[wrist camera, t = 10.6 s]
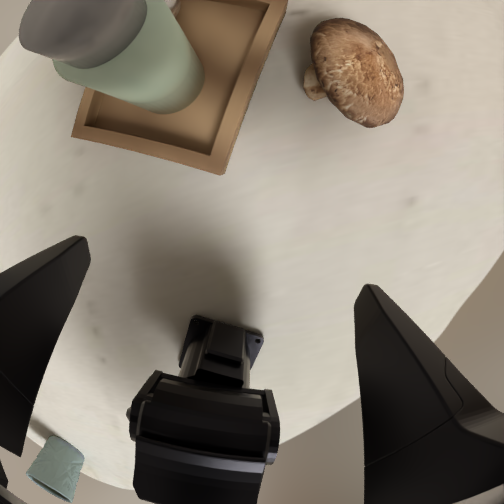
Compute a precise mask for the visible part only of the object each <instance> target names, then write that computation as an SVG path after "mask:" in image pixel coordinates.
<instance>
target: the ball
mask: <svg viewBox="0 0 504 504" xmlns="http://www.w3.org/2000/svg"><path fill="white" fill-rule="evenodd" d="M164 1H165V3H166V4H167V6H168V7H169V9H170V11H171V12H172V14H173V16H174V17H176V16H177V15H178V13H179V11H180V7H181V4H180V0H164Z"/></svg>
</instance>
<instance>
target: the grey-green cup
mask: <svg viewBox="0 0 504 504" xmlns="http://www.w3.org/2000/svg"><path fill="white" fill-rule="evenodd" d="M83 462H84V456H83V454H82V453H81V452H80V451H79V450H78V449H76V448H75V447H74V446H72V445H71V444H69V443H68V442H66V441H65V440H63V439H61V438H59V437H56V436H50V437H49V439H48V440H47V442H46V443H45V445H44V448H43V449H42V450H41V451H40V453H39V454H38V456H37V459H36V460H35V461H34V462H33V463H32V465H31V467H30V468H29V469H28V471H27V472H26V475H27V476H28V477H29V478H30V479H31V480H32V481H33V482H34V483H36V484H37V485H39V486H40V487H41V488H43V489H44V490H46V491H47V492H49V493H51V494H52V495H54V496H56V497H58V498H60V499H62V500H64V501H67V502H70V503H72V502H73V498H74V493H75V489H76V483H77V482H78V479H79V475H80V470H81V468H82V465H83Z"/></svg>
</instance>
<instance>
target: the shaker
mask: <svg viewBox="0 0 504 504" xmlns="http://www.w3.org/2000/svg"><path fill="white" fill-rule="evenodd" d="M19 40H20V43H21V45H22V46H23V47H24V48H25V49H27V50H29V51H32V52H35V53H38V54H40V55H43V56H46V57H49V58H51V59H53V64H54V67H55V69H56V71H57V72H58V74H59V75H60V76H61V77H62V78H64V79H65V80H67V81H70V82H73V83H76V84H79V85H82V86H85V87H88V88H91V89H94V90H96V91H99V92H102V93H105V94H107V95H110V96H113V97H115V98H118V99H121V100H123V101H126V102H128V103H131V104H133V105H136V106H138V107H141V108H143V109H145V110H148V111H150V112H152V113H156V114H172V113H176V112H178V111H181V110H183V109H185V108H186V107H188V106H189V105H190V104H191V103H192V102H193V101H194V100H195V99H196V98H197V97H198V95H199V94H200V92H201V90H202V88H203V85H204V80H205V73H204V68H203V65H202V63H201V62H200V60H199V58H198V56H197V55H196V53H195V51H194V49H193V48H192V46H191V44H190V42H189V41H188V39H187V37H186V36H185V34H184V32H183V31H182V29H181V27H180V25H179V24H178V22H177V21H176V19H175V17H174V16H173V14H172V12H171V11H170V9H169V7H168V6H167V4H166V3H165V1H164V0H32V1H31V2H30V4H29V5H28V7H27V9H26V11H25V13H24V15H23V18H22V21H21V24H20V29H19Z"/></svg>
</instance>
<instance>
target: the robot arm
mask: <svg viewBox="0 0 504 504" xmlns="http://www.w3.org/2000/svg"><path fill="white" fill-rule="evenodd" d="M90 261H91V257H90V252H89V247H88V242H87V239H86V238H85V237H83V236H77V235H75V236H72V237H70V238H68V239H66V240H64V241H62V242H60V243H57V244H55V245H53V246H51V247H49V248H47V249H45V250H43V251H41V252H39V253H37V254H35V255H33V256H31V257H29V258H27V259H26V260H24V261H22V262H20V263H18V264H16V265H14V266H12V267H11V268H9V269H7V270H5V271H3V272H2V273H0V446H1V447H3V448H5V449H6V450H8V451H10V452H12V453H13V454H15V455H17V456H19V457H21V455H22V451H23V446H24V441H25V437H26V433H27V429H28V425H29V421H30V418H31V414H32V411H33V407H34V406H33V405H34V404H35V400H36V397H37V394H38V391H39V388H40V385H41V382H42V379H43V376H44V373H45V371H46V368H47V365H48V363H49V360H50V357H51V355H52V352H53V350H54V347H55V345H56V343H57V340H58V338H59V335H60V333H61V331H62V329H63V326H64V324H65V322H66V320H67V318H68V315H69V313H70V311H71V309H72V307H73V305H74V302H75V300H76V298H77V295H78V293H79V290H80V287H81V285H82V282H83V280H84V277H85V275H86V272H87V270H88V268H89V265H90ZM194 320H197V321H198V323H196V322H195V321H194ZM354 323H355V350H356V359H357V367H358V376H359V386H360V396H361V408H362V421H363V439H364V465H365V467H364V504H504V413H502V412H500V411H498V410H497V409H495V408H494V407H493V406H492V405H491V404H490V403H489V402H488V401H487V400H486V399H485V397H484V396H483V395H482V394H481V393H480V392H479V391H478V390H477V389H475V387H474V386H473V385H472V384H471V383H470V382H469V381H468V380H467V379H466V378H465V377H464V376H463V375H462V374H461V373H460V371H458V369H457V368H456V367H455V366H454V365H453V364H452V363H451V362H450V360H449V359H448V358H447V357H445V355H444V354H443V353H442V352H441V350H440V349H439V348H438V347H437V346H436V345H435V344H434V343H433V342H432V341H431V339H430V338H429V337H428V336H427V335H426V334H425V333H424V332H423V331H422V330H421V329H420V328H419V327H418V326H417V325H416V324H415V323H414V321H413V320H412V319H411V318H410V317H409V316H408V315H407V314H406V313H405V312H404V311H403V310H402V309H401V308H400V307H399V306H398V305H397V304H396V303H395V302H394V301H393V300H392V299H391V298H390V297H389V296H388V295H387V294H386V293H385V292H384V291H383V290H382V289H381V288H380V287H379V286H377V285H374V284H365V285H364V286H363V288H362V290H361V292H360V294H359V296H358V297H357V299H356V301H355V304H354ZM256 339H260V340H259V341H257V340H256ZM263 342H264V338H263V336H262V335H261V334H258V333H254V332H251V331H247V330H244V329H243V328H239V327H236V326H232V325H229V324H226V323H222V322H219V321H214V320H210V319H207V318H204V317H201V316H198V315H195V316H193V317H192V318H191V321H190V324H189V328H188V332H187V335H186V339H185V343H184V347H183V351H182V354H181V358H180V362H179V367H180V368H181V369H180V372H179V376H174V375H170V374H165V373H163V371H158V370H155V371H154V373H153V374H152V375H151V376H150V377H149V379H148V380H147V381H146V383H145V384H144V385H143V387H142V388H141V389H140V391H139V392H138V394H137V395H136V396H135V398H134V399H133V401H132V405H131V407H130V408H128V409H127V412H126V416H127V418H128V420H129V421H130V423H129V433H130V438H131V440H133V441H135V442H136V451H135V470H134V478H133V487H134V489H135V491H136V493H137V495H138V497H139V498H140V499H141V500H145V501H149V502H152V503H155V504H257V498H258V494H259V490H260V486H261V482H262V478H263V474H264V469H265V465H271V464H273V462H274V461H275V458H276V455H277V451H278V447H279V439H280V421H279V416H278V412H277V408H276V404H275V400H274V396H273V393H272V390H268V389H264V390H256V389H249V384H250V370H251V368H252V366H253V363H254V361H255V359H256V357H257V355H258V353H259V351H260V349H261V347H262V344H263ZM7 484H8V479H7V477H6V474H5V472H4V469H3V466H2V464H1V461H0V504H27V503H25V502H24V501H22V500H21V499H19V498H18V497H16V496H15V495H14V494H12V493H11V492H10V491H8V490H7V489H6V488H7Z"/></svg>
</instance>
